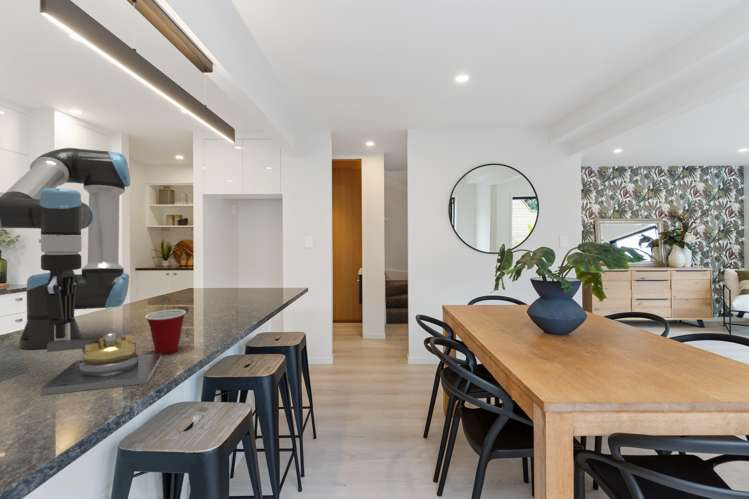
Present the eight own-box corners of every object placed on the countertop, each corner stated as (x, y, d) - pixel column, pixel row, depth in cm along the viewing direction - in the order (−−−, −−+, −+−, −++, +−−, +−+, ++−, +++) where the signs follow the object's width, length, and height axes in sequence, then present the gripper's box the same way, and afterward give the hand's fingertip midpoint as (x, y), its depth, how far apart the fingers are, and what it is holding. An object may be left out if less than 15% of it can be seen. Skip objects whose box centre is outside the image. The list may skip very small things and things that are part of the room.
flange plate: (76, 366, 99) (76, 351, 99) (162, 358, 106) (162, 344, 106) (41, 395, 80) (41, 376, 80) (147, 383, 88) (147, 366, 88)
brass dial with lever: (138, 349, 101) (138, 327, 100) (132, 360, 91) (132, 336, 91) (56, 356, 93) (56, 333, 93) (39, 370, 83) (39, 344, 83)
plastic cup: (136, 354, 110) (136, 314, 109) (167, 345, 120) (167, 308, 120) (163, 359, 106) (163, 317, 106) (193, 349, 116) (194, 310, 116)
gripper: (54, 252, 94) (55, 344, 95) (28, 254, 82) (29, 360, 83) (89, 252, 97) (90, 341, 98) (69, 254, 85) (70, 356, 86)
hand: (62, 350), depth 91 cm, fingers closed
